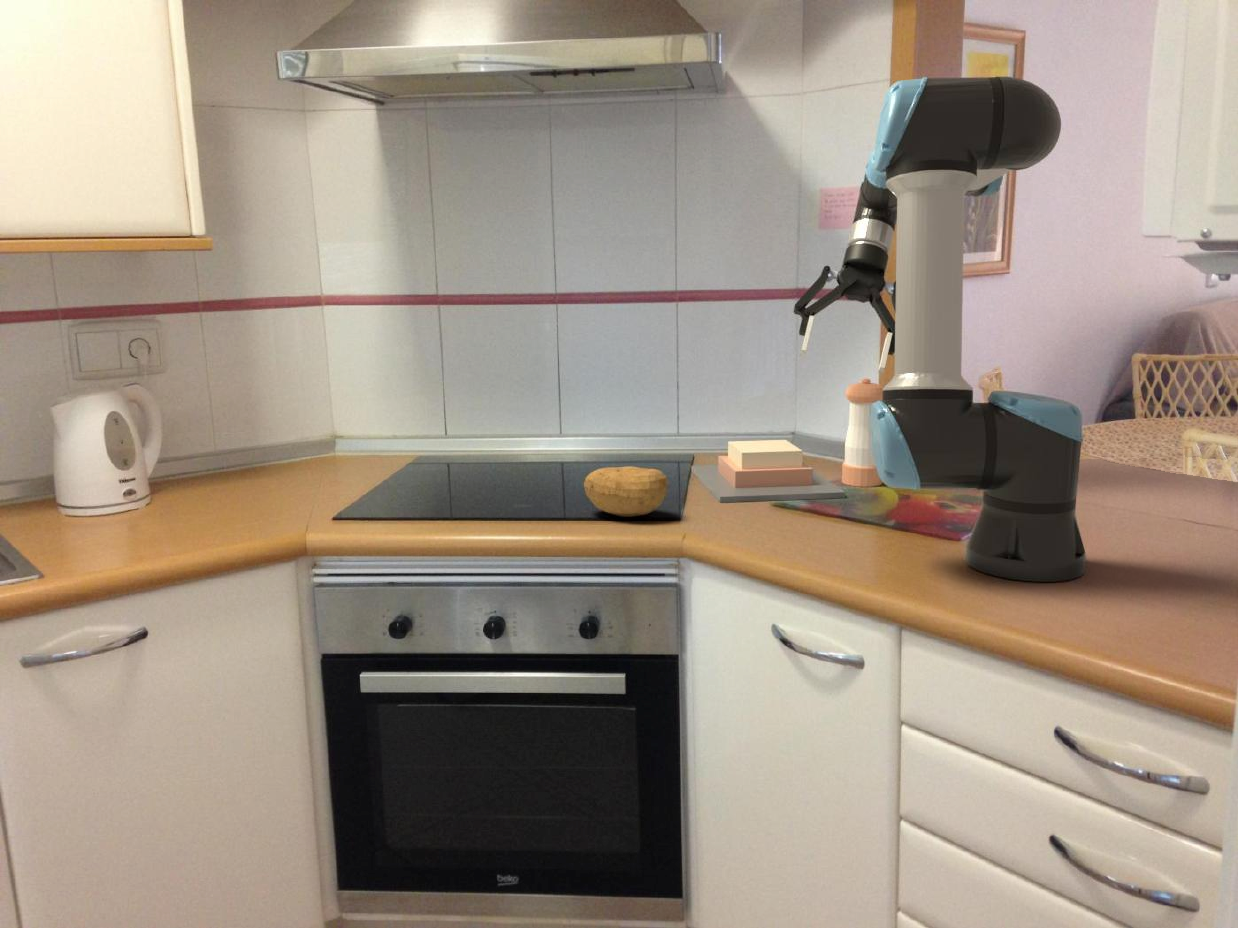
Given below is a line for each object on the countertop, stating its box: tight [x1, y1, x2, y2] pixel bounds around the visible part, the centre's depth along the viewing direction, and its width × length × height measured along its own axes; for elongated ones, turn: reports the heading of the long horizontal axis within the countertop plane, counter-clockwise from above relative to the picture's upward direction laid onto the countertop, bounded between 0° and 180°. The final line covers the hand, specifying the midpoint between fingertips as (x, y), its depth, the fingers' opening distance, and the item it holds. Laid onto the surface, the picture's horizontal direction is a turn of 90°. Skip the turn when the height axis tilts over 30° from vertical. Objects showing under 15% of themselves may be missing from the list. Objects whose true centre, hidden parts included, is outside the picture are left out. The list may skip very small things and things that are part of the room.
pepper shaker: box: [841, 378, 884, 488], centre depth 189 cm, size 7×7×19 cm
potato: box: [583, 465, 669, 518], centre depth 168 cm, size 10×14×8 cm
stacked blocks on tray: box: [691, 439, 846, 504], centre depth 190 cm, size 26×22×7 cm
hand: (841, 361), depth 179 cm, fingers open, 13 cm apart
